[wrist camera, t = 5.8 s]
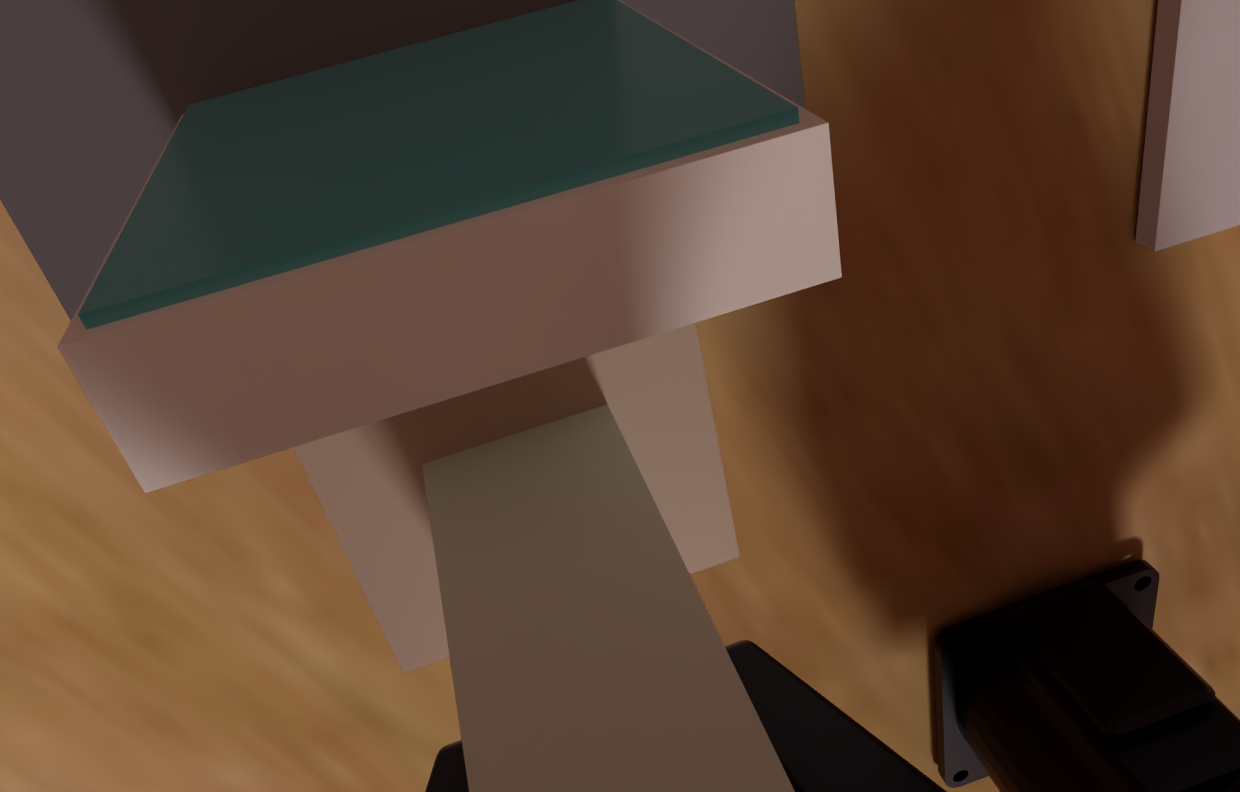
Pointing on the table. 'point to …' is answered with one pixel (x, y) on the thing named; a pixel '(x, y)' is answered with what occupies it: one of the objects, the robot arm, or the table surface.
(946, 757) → the robot arm
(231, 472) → the table surface
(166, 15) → the mat
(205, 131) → the tile
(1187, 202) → the pad
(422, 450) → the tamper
